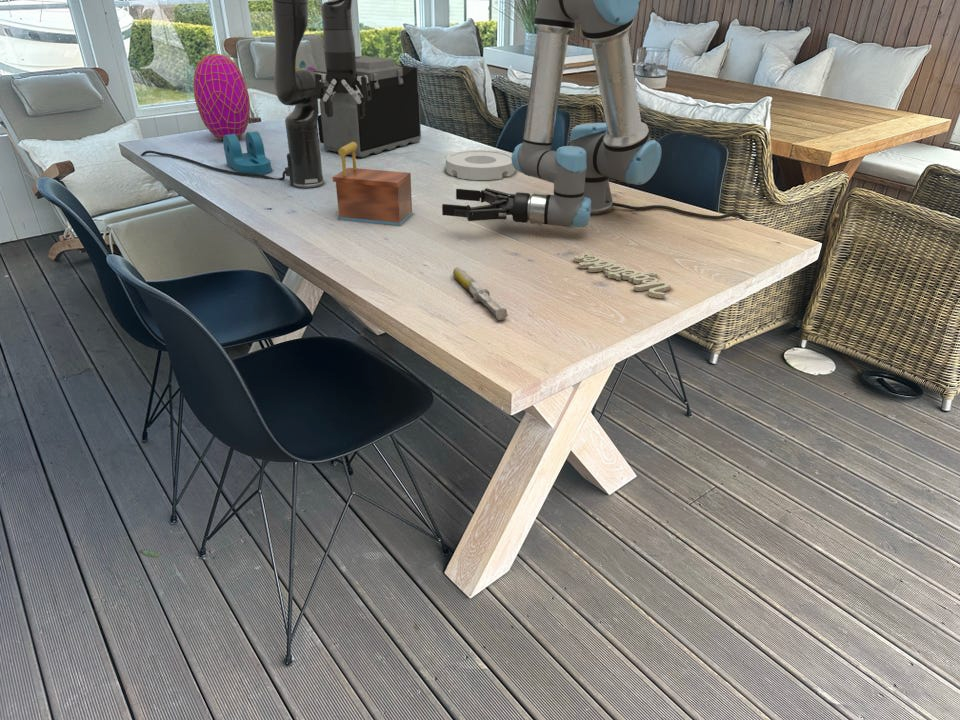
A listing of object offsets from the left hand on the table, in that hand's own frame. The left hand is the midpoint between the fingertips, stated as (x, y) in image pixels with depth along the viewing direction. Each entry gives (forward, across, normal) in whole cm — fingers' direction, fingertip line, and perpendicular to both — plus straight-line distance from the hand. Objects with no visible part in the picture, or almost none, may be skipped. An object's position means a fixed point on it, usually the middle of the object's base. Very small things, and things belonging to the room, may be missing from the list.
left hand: (345, 117), depth 177 cm
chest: (+26, -7, 0) cm, 27 cm away
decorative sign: (+26, -76, +22) cm, 83 cm away
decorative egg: (+26, +82, -68) cm, 110 cm away
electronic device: (+26, +26, -75) cm, 83 cm away
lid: (+16, -6, 0) cm, 17 cm away
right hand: (+19, -28, +1) cm, 34 cm away
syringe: (+26, -47, +42) cm, 68 cm away
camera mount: (+26, +52, -33) cm, 67 cm away
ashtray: (+26, -22, -53) cm, 63 cm away
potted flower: (+26, +66, -104) cm, 126 cm away
